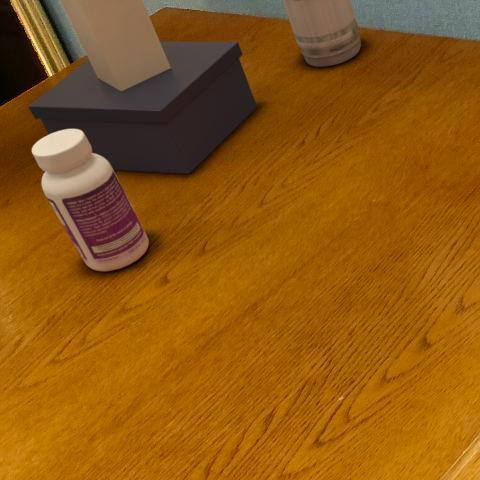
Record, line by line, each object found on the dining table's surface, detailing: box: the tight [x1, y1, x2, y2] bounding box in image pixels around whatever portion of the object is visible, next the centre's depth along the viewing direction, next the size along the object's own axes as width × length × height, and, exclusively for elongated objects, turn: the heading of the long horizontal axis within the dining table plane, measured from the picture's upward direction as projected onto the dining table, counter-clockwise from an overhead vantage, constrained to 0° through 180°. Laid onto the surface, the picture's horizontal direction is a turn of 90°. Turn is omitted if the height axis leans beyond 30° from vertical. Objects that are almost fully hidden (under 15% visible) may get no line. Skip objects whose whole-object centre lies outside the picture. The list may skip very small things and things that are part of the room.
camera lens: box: [282, 0, 362, 68], centre depth 97 cm, size 6×6×8 cm
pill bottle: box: [31, 129, 150, 272], centre depth 77 cm, size 5×5×10 cm
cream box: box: [59, 0, 171, 92], centre depth 86 cm, size 5×5×10 cm
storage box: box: [27, 41, 258, 175], centre depth 92 cm, size 15×13×6 cm
